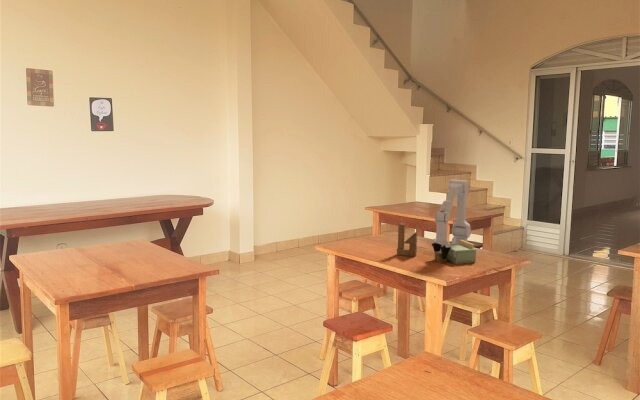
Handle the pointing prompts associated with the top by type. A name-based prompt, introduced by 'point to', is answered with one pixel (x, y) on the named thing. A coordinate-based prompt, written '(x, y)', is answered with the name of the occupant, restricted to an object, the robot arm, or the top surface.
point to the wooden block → (406, 242)
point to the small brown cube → (439, 257)
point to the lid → (460, 248)
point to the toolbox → (463, 257)
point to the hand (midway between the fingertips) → (440, 257)
